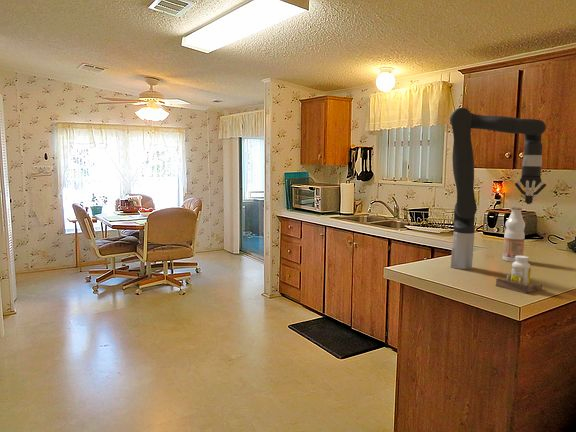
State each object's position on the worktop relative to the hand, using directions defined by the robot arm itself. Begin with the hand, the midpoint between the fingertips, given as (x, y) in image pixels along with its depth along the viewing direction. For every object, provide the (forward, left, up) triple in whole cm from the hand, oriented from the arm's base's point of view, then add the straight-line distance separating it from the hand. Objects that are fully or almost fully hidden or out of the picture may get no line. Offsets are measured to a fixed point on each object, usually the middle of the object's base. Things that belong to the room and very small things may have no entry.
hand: (528, 203), depth 190 cm
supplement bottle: (-2, -29, -32) cm, 44 cm away
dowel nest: (-2, -29, -32) cm, 43 cm away
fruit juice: (-4, +27, -32) cm, 42 cm away
